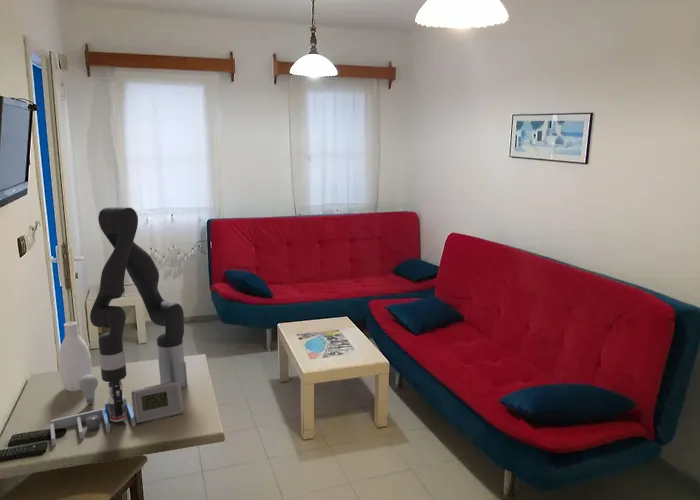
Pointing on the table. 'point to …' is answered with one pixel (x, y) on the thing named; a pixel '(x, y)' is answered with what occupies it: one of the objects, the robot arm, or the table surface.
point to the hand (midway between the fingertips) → (118, 411)
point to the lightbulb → (88, 387)
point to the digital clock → (157, 402)
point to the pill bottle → (112, 409)
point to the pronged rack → (87, 421)
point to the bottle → (73, 358)
